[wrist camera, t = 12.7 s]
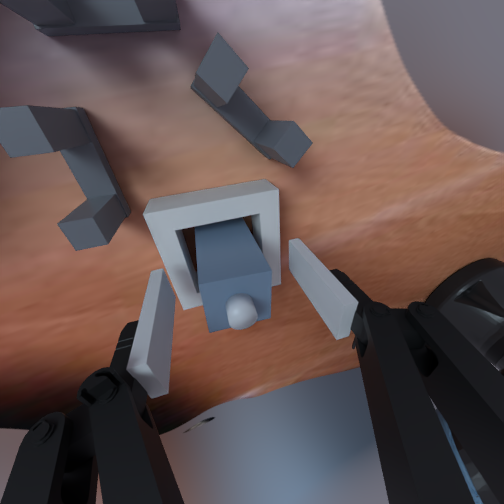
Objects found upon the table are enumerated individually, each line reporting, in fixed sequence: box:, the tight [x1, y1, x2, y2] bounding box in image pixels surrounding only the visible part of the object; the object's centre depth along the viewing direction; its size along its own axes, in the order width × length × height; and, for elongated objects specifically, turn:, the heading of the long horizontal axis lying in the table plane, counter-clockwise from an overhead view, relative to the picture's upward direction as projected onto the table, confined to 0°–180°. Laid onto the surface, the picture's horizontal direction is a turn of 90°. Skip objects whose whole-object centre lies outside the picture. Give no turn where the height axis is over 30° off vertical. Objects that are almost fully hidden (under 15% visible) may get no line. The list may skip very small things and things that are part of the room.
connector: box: [195, 217, 272, 332], centre depth 15 cm, size 4×4×9 cm
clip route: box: [0, 0, 312, 251], centre depth 11 cm, size 11×14×5 cm
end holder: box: [143, 179, 281, 310], centre depth 17 cm, size 9×9×3 cm
